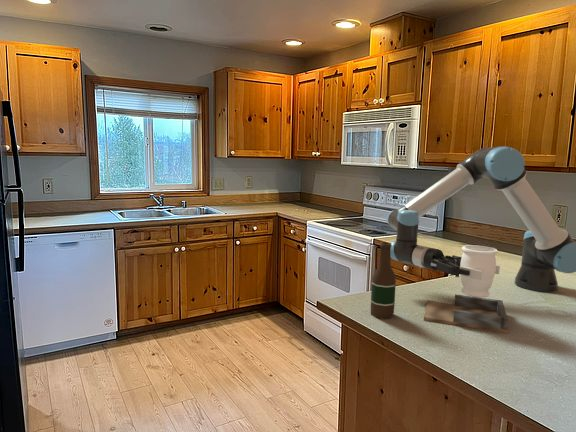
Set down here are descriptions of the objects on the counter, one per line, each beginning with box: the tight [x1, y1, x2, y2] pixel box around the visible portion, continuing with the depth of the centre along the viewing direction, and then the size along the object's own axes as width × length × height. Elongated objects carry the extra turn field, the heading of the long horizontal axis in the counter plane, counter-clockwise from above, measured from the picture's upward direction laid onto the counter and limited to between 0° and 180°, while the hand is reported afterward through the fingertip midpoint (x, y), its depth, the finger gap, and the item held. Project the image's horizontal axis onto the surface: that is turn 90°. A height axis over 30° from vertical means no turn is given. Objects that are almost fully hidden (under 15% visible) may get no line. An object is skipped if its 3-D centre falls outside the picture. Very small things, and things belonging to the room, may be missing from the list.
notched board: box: [423, 294, 509, 334], centre depth 138 cm, size 24×17×4 cm
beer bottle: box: [370, 242, 397, 320], centre depth 137 cm, size 8×8×24 cm
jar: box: [460, 244, 498, 298], centre depth 135 cm, size 11×10×15 cm
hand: (490, 272), depth 131 cm, fingers closed on jar, 10 cm apart
